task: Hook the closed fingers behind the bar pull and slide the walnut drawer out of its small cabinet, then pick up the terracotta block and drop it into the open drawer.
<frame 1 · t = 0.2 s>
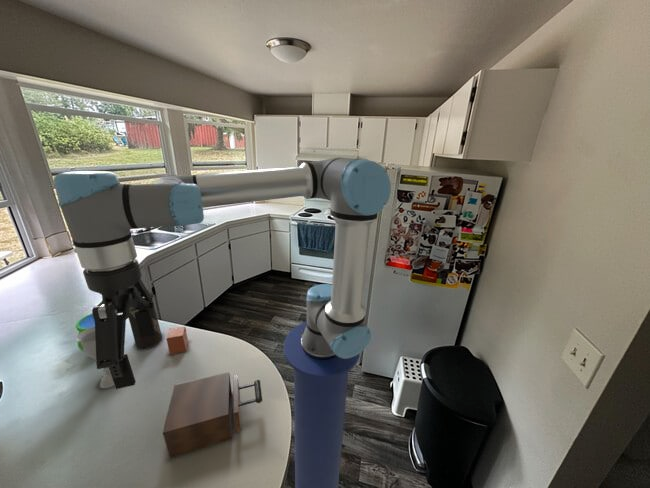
hand: (138, 357, 51), 27 cm above the table, tool pointing down, fingers open, 13 cm apart
chalice: (111, 381, 76), on the table
cabinet: (204, 422, 65), on the table
container: (149, 341, 92), on the table
snack cup: (104, 342, 91), on the table
drawer: (225, 404, 66), point 4 cm above the table, slide at 1.0 cm
block: (179, 348, 89), on the table
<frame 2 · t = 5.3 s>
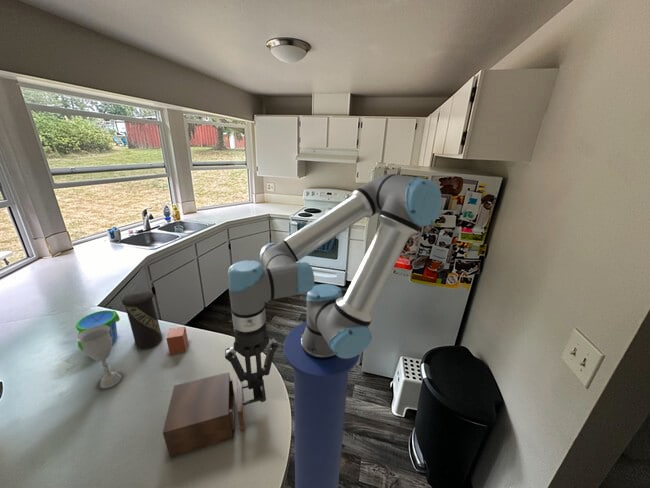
hand: (256, 394, 68), 5 cm above the table, tool pointing down, fingers closed
drawer: (229, 403, 66), point 4 cm above the table, slide at 2.0 cm, touching gripper
everything else where it was.
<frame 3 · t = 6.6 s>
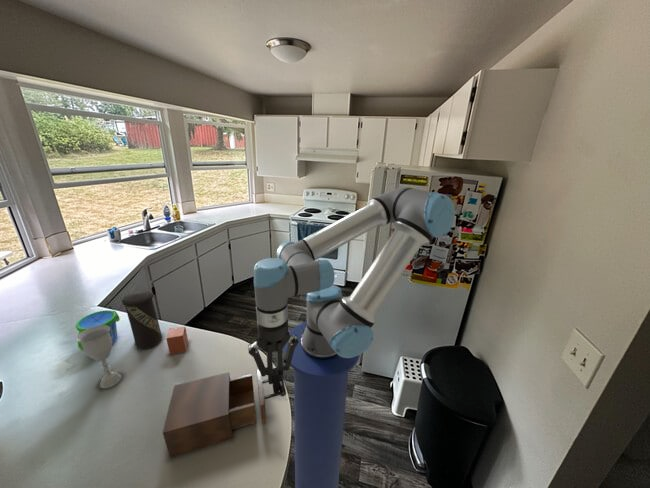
hand: (275, 389, 70), 5 cm above the table, tool pointing down, fingers closed
drawer: (250, 397, 68), point 4 cm above the table, slide at 7.3 cm
everything else where it was.
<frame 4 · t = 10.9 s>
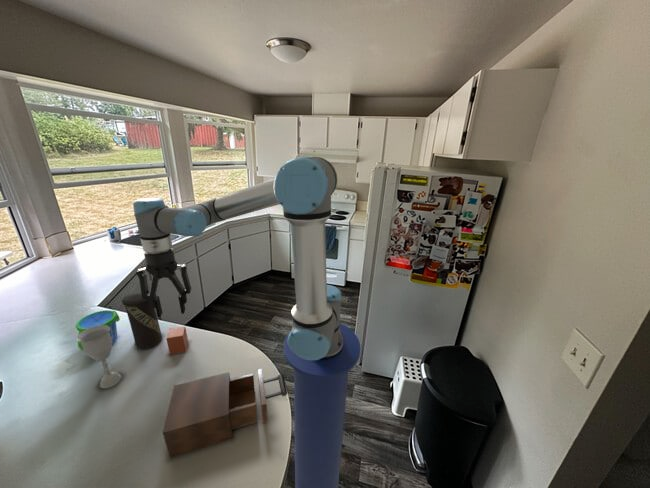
hand: (172, 313, 84), 15 cm above the table, tool pointing down, fingers open, 6 cm apart
drawer: (252, 397, 68), point 4 cm above the table, slide at 7.7 cm
everything else where it was.
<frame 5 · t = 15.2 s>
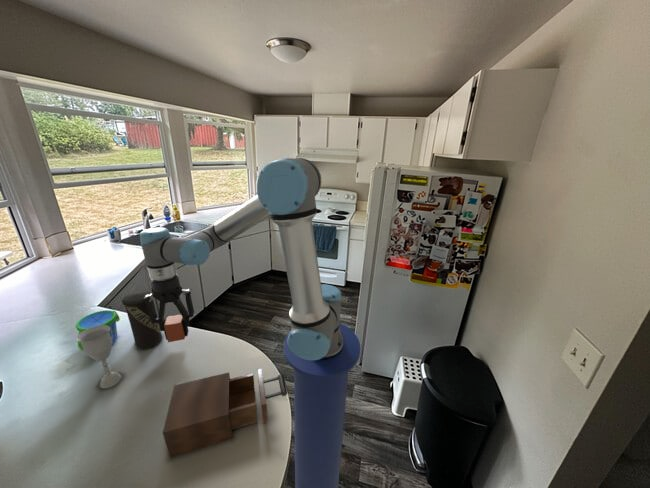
hand: (177, 335, 87), 6 cm above the table, tool pointing down, fingers closed on block, 5 cm apart
block: (177, 336, 87), point 5 cm above the table, touching gripper
everything else where it was.
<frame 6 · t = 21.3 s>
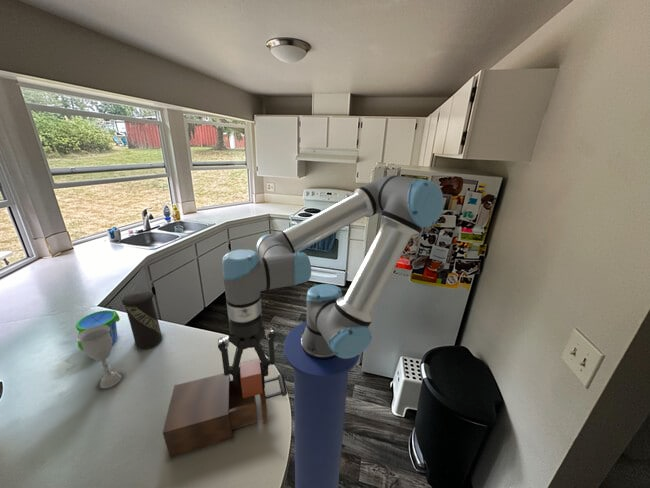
hand: (252, 386, 67), 8 cm above the table, tool pointing down, fingers closed on block, 5 cm apart
block: (252, 387, 67), point 8 cm above the table, touching gripper
everything else where it was.
when the fingers open (9 cm above the table, at t = 27.4 s): block drops 2 cm, resting on drawer.
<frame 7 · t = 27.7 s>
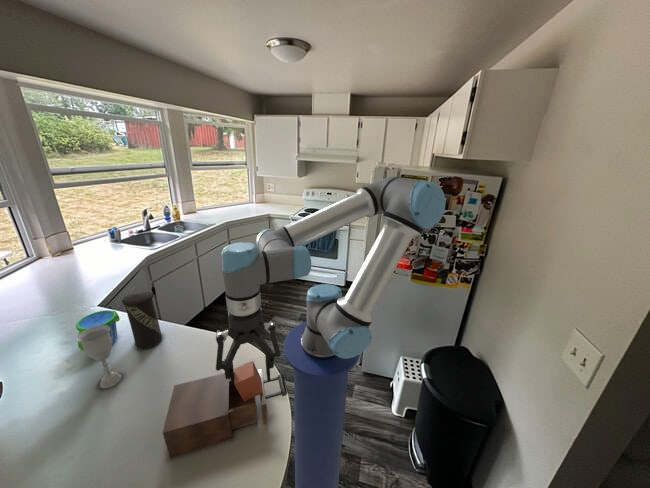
hand: (251, 380, 66), 10 cm above the table, tool pointing down, fingers open, 8 cm apart
drawer: (252, 397, 68), point 4 cm above the table, slide at 7.6 cm, touching block
block: (252, 389, 67), point 7 cm above the table, tilted 15°, touching drawer
everything else where it was.
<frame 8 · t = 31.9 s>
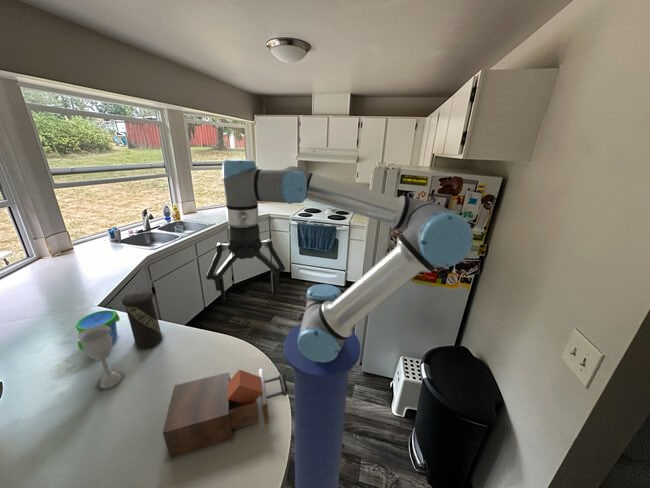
hand: (249, 296, 70), 29 cm above the table, tool pointing down, fingers open, 13 cm apart
block: (255, 391, 67), point 6 cm above the table, tilted 50°, touching cabinet, drawer
everything else where it was.
at the end: drawer slide at 7.9 cm; block inside the target area in the drawer (4.9 cm from its centre), point 6.2 cm above the cabinet's base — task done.
